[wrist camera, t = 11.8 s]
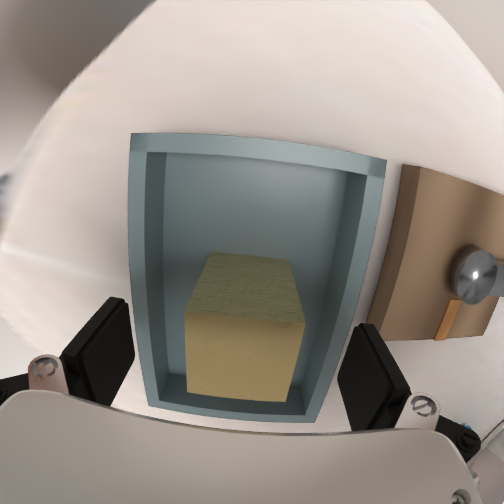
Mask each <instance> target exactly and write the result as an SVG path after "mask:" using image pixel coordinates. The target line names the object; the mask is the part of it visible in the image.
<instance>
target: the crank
mask: <svg viewBox="0 0 504 504" xmlns="http://www.w3.org/2000/svg"><path fill="white" fill-rule="evenodd" d="M450 287H451V290H452V291H453V293H454V294H455V295H457V296H458V297H459V298H460V299H461V300H462V301H463V302H465V303H466V304H468V305H474V304H477V303H479V302H481V301H482V300H483V299H484V298H485V297H486V296H498V297H504V261H503V260H497V259H495V257H494V256H493V255H492V254H491V253H489V252H487V251H485V250H484V249H482V248H480V247H478V246H470V247H468V248H466V249H464V250H463V251H462V252H461V253H460V254H459V255H458V257H457V258H456V260H455V262H454V264H453V266H452V269H451V272H450Z"/></svg>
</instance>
